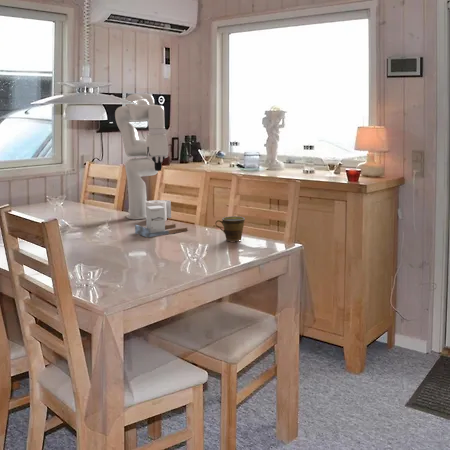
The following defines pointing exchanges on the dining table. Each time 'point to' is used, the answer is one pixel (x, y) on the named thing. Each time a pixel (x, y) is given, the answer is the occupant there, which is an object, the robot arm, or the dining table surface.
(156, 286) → the dining table surface
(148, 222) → the supplement box
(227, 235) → the ceramic cup
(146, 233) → the blue brown forked frame
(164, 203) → the toilet tissue
